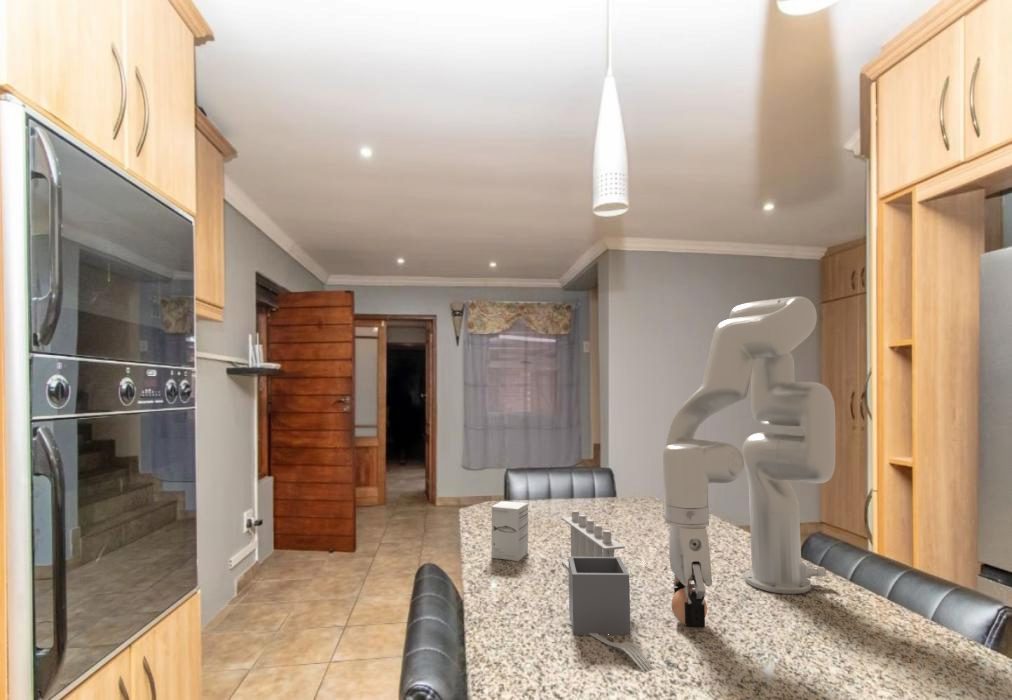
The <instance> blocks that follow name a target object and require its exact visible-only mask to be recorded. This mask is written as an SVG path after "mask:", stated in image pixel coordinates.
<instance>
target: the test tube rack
mask: <svg viewBox="0 0 1012 700" xmlns="http://www.w3.org/2000/svg"><path fill="white" fill-rule="evenodd" d="M561 520H563V521H564V523H565V522H566V524H568V525H569V526H570V557H615V551H616V550H620V549H626V546H625V545H623V544H621V543H620V542H619V541H617V540H615V539H614V538H613V537H612V531H611V529H604V528H603V525H602V524H598V523H596V524H595V522H594V521H595V520H594V519H592V518H591V519H590V518H588V519H587V516H586V514H580V512H579V510H578V509H574V510H572V511H571V516H566V517H565V516H563V517H561ZM561 565H562V566H563V565H564V566H565V567H566V568H567V569H568V570H569V560H566V561H561ZM564 566H563V567H564ZM565 567H564V568H565ZM566 568H565V569H566ZM567 569H566V570H567ZM568 570H567V571H568Z"/></svg>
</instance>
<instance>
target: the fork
mask: <svg viewBox="0 0 1012 700" xmlns="http://www.w3.org/2000/svg"><path fill="white" fill-rule="evenodd" d="M568 621H569V622H568ZM565 622H566V621H565ZM565 624H566V625H568V626H571V627H572V623H571V621H570V620H567V622H566V623H565ZM589 634H590V635H589V636H592V637H593V638H595V639H596V640H598V641H600V642H602V643H604V644H605V645H608V646H611V647H615V648H619V649H621V650H622V651H624V652H625V653H626V654H627V655H628V656H629V657H630V659H631V660H633V662H634V663H635V664H636V665H637V666H638V667H639V668H640V670H641V671H642V672H643V673H644V674H647V672H648V673H649V672H652V670H653V671H655V668H654V667H653V665H652V664H651V662H650V661H649V659H647V657H646V655H645V654H644V653H643V652H642V651H641V649H640V648H639V647H638V646H637V645H636V644H635V643H633V642H630V641H624V642H621V643H614V642H611V641H609V640H608V639H606V638H604V636H603V635H599V634H597V633H589Z"/></svg>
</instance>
